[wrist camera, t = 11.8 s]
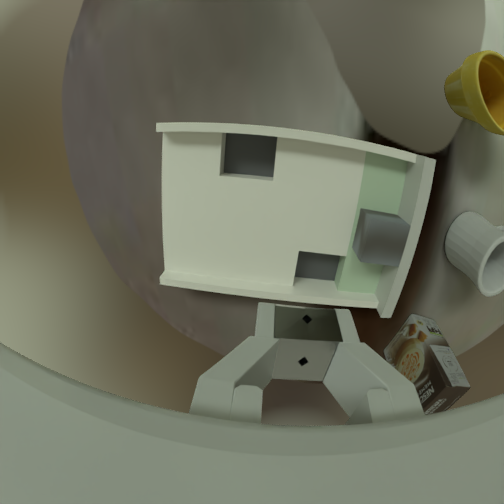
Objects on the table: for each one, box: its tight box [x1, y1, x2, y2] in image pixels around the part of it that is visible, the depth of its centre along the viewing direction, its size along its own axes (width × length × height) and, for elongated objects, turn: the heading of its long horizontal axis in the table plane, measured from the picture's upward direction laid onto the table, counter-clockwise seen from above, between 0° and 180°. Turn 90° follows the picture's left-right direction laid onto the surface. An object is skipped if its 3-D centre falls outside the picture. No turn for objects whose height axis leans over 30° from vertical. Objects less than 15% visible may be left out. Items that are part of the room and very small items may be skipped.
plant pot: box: [444, 50, 504, 135], centre depth 20 cm, size 10×10×10 cm
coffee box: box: [384, 314, 470, 415], centre depth 34 cm, size 9×6×16 cm
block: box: [352, 208, 411, 267], centre depth 29 cm, size 5×5×4 cm
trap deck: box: [156, 122, 436, 318], centre depth 31 cm, size 20×30×7 cm, turn 85°
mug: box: [445, 212, 504, 297], centre depth 28 cm, size 12×9×10 cm
